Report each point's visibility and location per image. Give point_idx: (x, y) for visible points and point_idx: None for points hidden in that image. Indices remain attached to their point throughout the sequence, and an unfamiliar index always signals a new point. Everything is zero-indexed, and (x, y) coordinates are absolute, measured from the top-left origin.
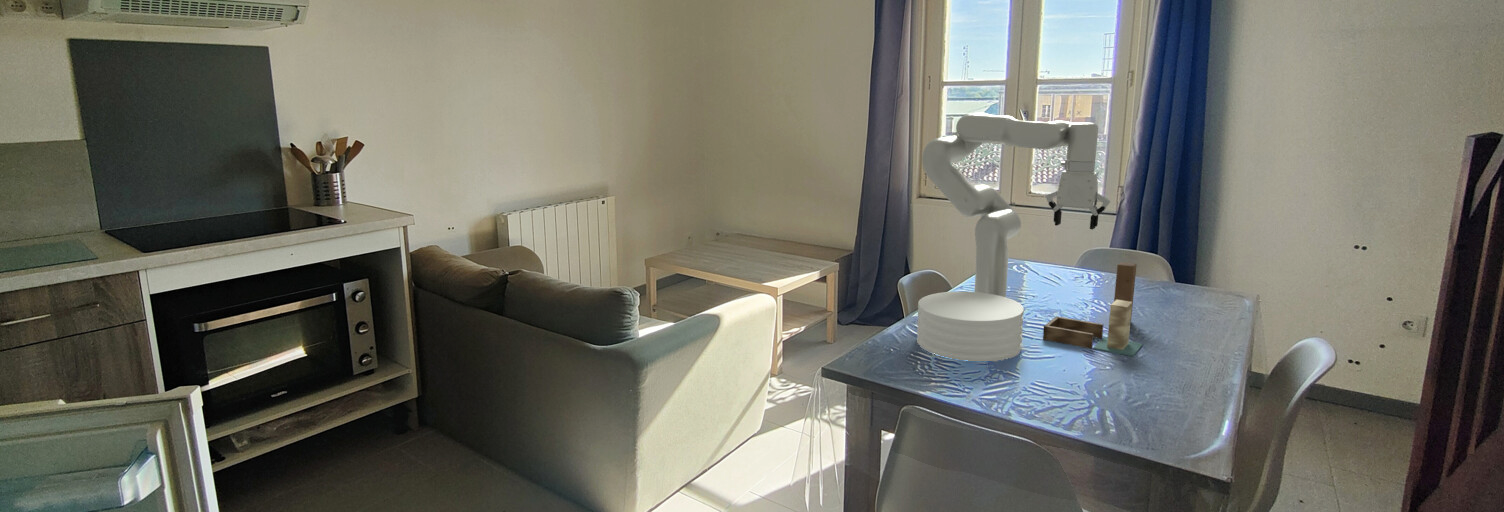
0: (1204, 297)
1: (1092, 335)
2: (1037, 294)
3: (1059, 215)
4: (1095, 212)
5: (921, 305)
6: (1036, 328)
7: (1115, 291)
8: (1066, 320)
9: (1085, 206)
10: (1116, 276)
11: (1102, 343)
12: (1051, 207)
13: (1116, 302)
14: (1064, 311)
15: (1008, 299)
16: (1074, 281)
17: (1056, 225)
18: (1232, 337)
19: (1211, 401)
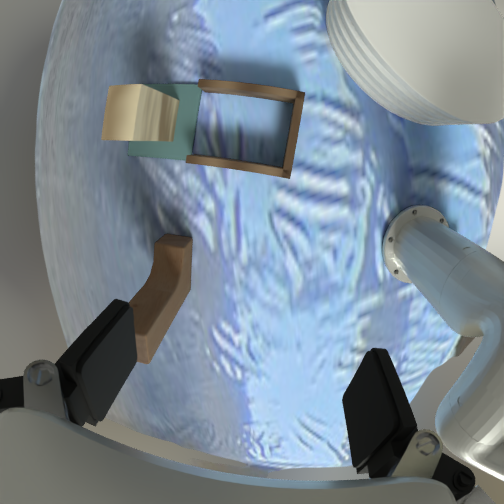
0: (123, 406)
1: (199, 79)
2: (333, 375)
3: (371, 423)
4: (39, 386)
5: (502, 18)
6: (325, 167)
7: (169, 295)
8: (264, 165)
9: (55, 438)
10: (157, 317)
11: (188, 117)
12: (447, 458)
13: (130, 112)
14: (283, 303)
15: (402, 69)
16: (279, 435)
17: (373, 349)
18: (51, 259)
19: (72, 3)
